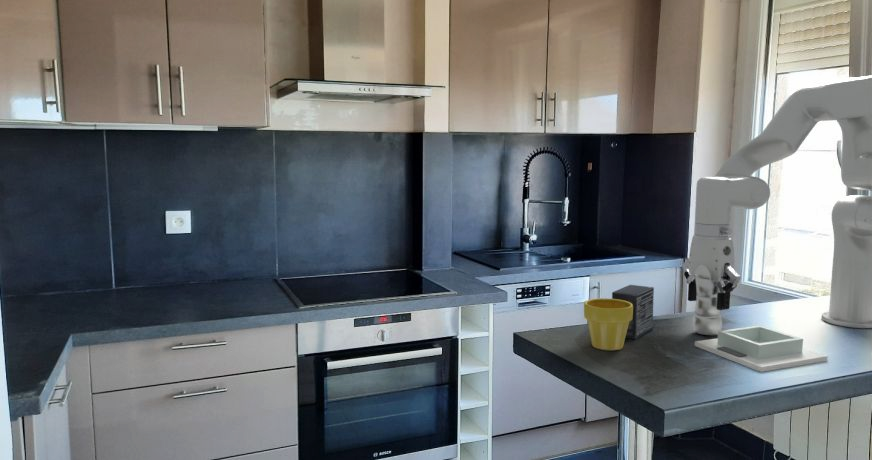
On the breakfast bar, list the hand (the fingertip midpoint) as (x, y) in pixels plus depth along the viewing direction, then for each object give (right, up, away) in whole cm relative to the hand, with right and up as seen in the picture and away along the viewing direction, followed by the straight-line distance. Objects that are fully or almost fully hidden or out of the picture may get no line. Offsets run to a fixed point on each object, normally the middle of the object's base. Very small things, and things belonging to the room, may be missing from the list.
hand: (708, 304), depth 153 cm
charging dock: (+5, -9, -13) cm, 17 cm away
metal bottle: (0, -7, +1) cm, 7 cm away
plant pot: (-26, -9, -8) cm, 28 cm away
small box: (-17, -7, +3) cm, 19 cm away
